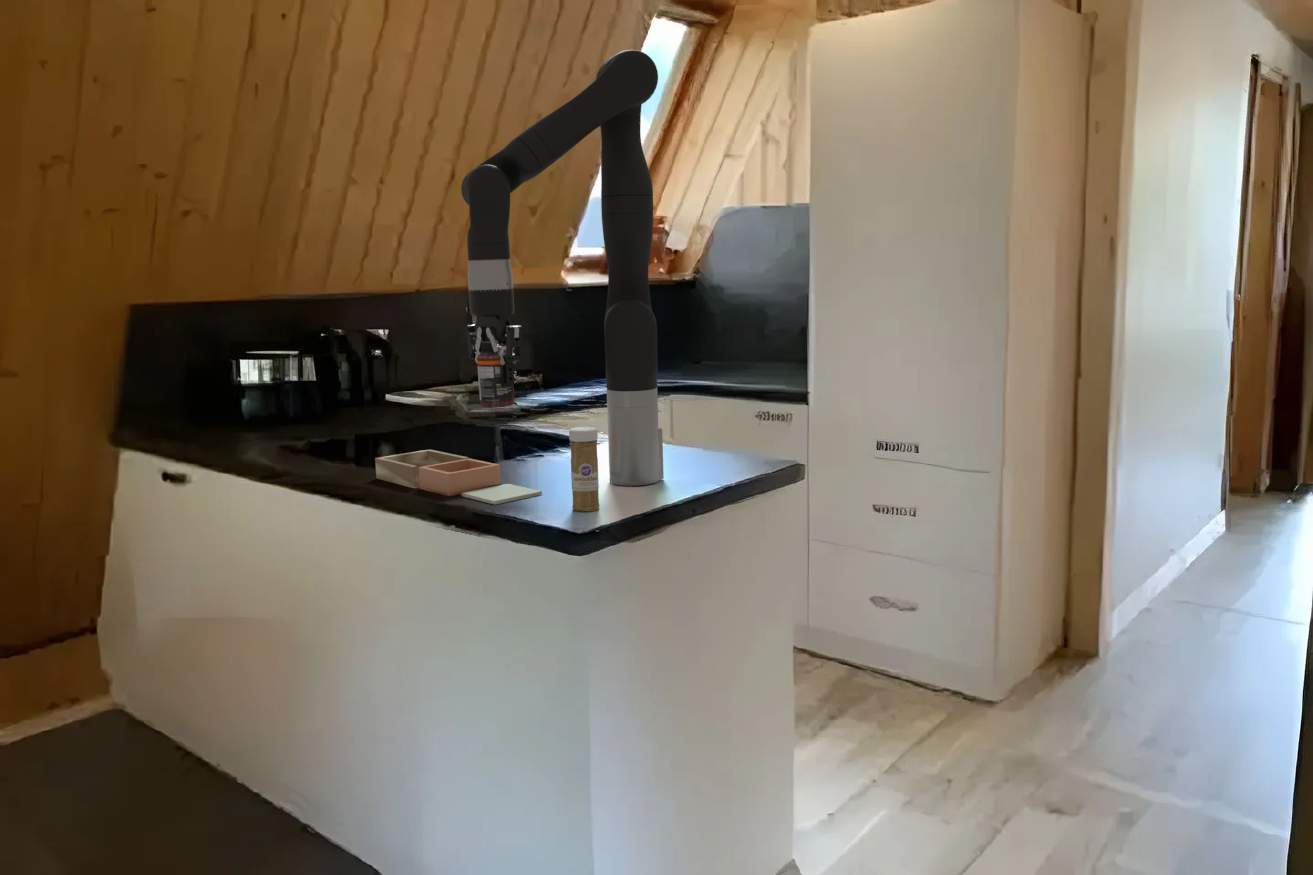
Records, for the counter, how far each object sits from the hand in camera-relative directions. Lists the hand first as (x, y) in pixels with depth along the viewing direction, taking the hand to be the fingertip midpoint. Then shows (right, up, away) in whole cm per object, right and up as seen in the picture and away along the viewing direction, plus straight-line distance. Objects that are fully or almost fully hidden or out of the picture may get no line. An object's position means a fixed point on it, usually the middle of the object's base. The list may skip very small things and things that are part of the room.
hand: (496, 385), depth 176 cm
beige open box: (-17, -17, +20) cm, 31 cm away
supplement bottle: (0, -4, +1) cm, 4 cm away
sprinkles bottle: (+16, -21, -9) cm, 28 cm away
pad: (0, -19, +3) cm, 19 cm away
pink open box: (-8, -18, +11) cm, 23 cm away
